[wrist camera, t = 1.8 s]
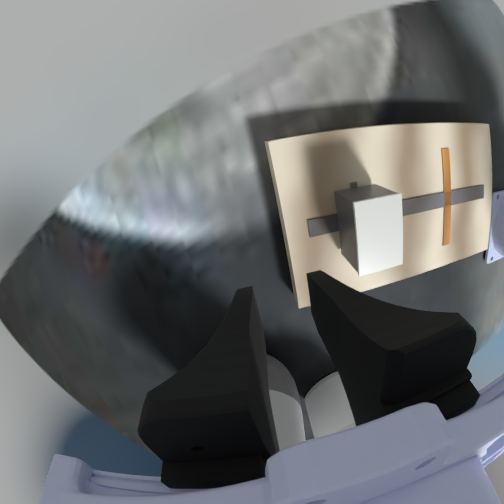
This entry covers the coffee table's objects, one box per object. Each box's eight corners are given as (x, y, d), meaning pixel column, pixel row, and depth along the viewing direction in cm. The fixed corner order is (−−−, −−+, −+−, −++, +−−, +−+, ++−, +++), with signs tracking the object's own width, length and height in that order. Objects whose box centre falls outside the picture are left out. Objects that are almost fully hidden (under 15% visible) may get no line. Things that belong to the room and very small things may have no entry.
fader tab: (375, 183, 17) (401, 193, 14) (379, 244, 19) (402, 264, 16) (333, 190, 17) (354, 202, 14) (340, 254, 19) (359, 276, 16)
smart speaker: (226, 323, 23) (228, 482, 10) (310, 359, 26) (351, 488, 13) (180, 385, 26) (166, 510, 13) (256, 410, 29) (270, 522, 16)
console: (474, 122, 18) (489, 124, 16) (475, 241, 22) (488, 249, 20) (264, 141, 18) (268, 141, 16) (293, 294, 23) (299, 309, 21)
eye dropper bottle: (296, 385, 27) (321, 485, 16) (346, 365, 27) (387, 460, 16) (307, 405, 29) (331, 494, 18) (353, 386, 28) (389, 472, 17)
